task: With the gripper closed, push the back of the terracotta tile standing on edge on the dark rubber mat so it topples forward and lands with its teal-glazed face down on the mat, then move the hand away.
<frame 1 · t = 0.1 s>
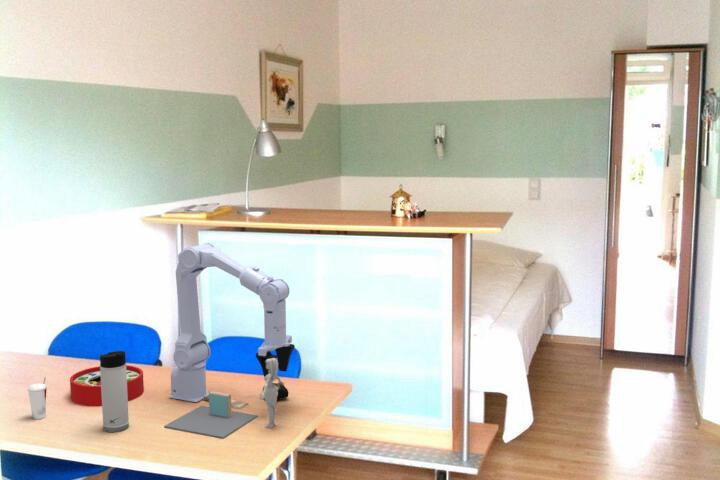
hand: (275, 374, 203), 10 cm above the table, fingers open, 7 cm apart
tile: (220, 415, 200), resting on mat
milkshake: (40, 417, 200), on the table
tape measure: (276, 398, 215), on the table
travel mug: (116, 428, 192), on the table
toy clock: (107, 395, 217), on the table
mat: (211, 421, 196), on the table
human figurine: (272, 427, 193), on the table
turner: (223, 403, 210), on the table
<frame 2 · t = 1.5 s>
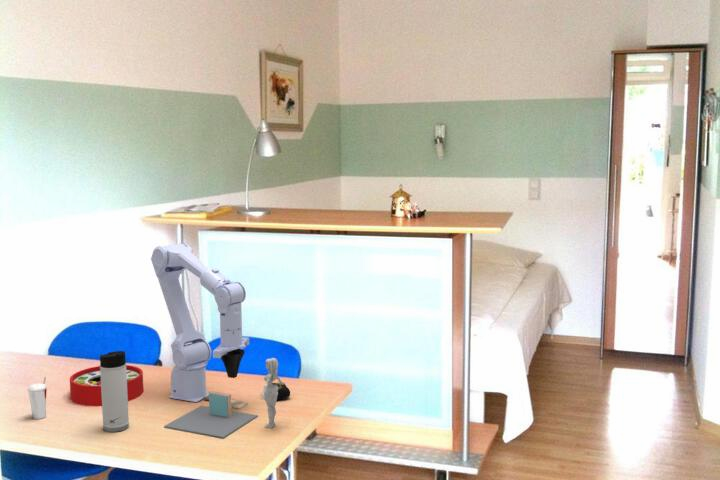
hand: (232, 377, 204), 9 cm above the table, fingers closed
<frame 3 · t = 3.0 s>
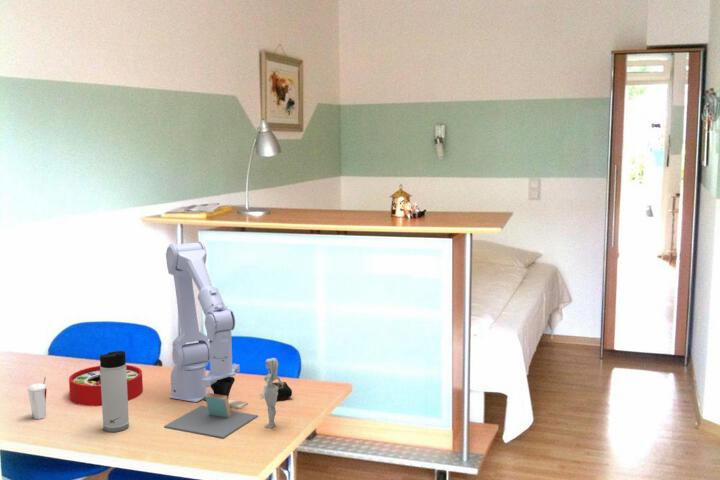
hand: (222, 405, 200), 3 cm above the table, fingers closed
tile: (220, 414, 199), point 1 cm above the table, tilted 17°, touching mat
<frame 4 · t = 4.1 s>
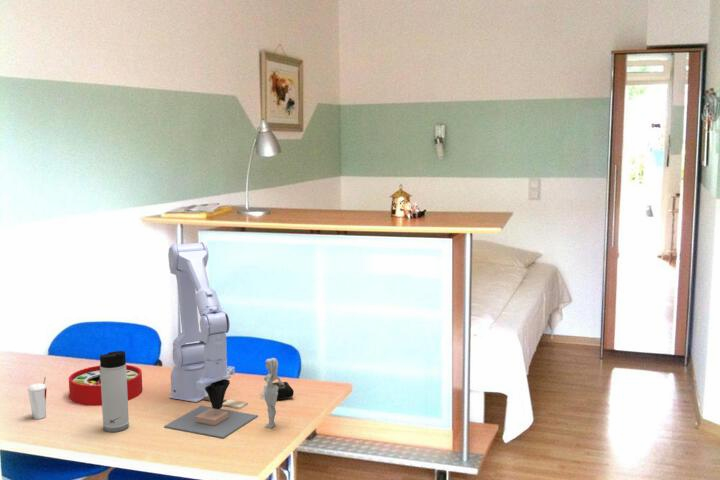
hand: (217, 408, 198), 3 cm above the table, fingers closed
tile: (218, 413, 199), point 1 cm above the table, tilted 90°, touching mat
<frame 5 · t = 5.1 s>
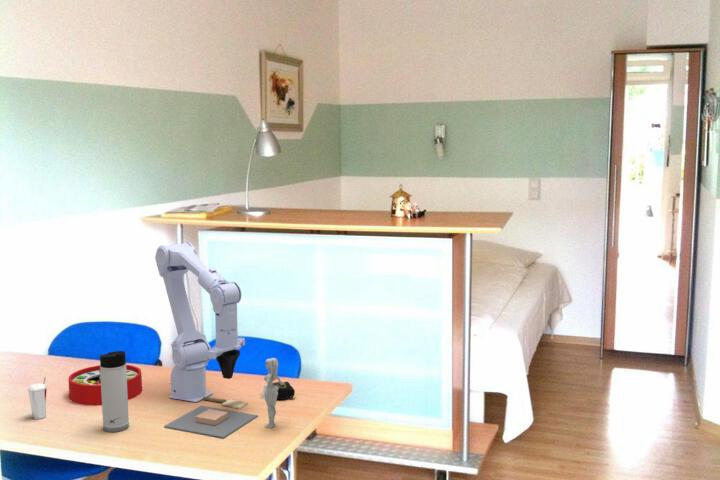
hand: (227, 377, 202), 10 cm above the table, fingers closed
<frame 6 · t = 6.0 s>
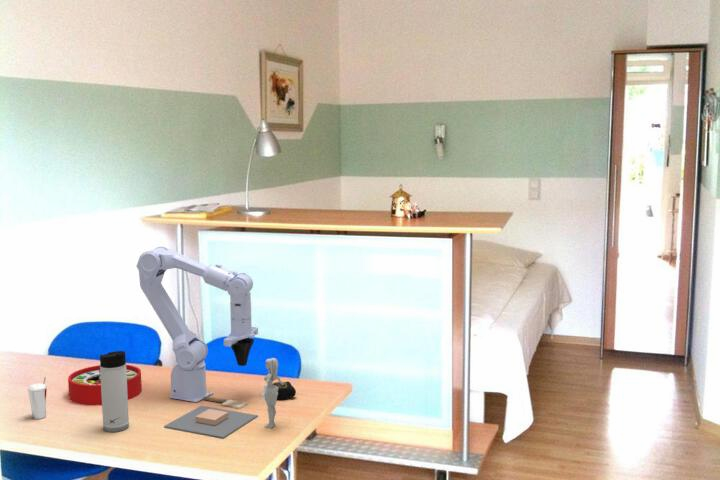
hand: (242, 365, 212), 10 cm above the table, fingers closed
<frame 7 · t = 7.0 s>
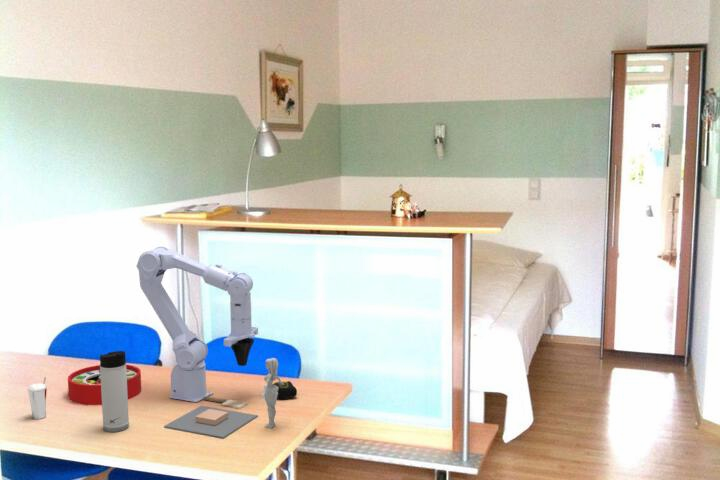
hand: (242, 365, 212), 10 cm above the table, fingers closed
at the end: tile tilted 90°; tile inside the target area (3.2 cm from its centre), point 1.3 cm above the table; the gripper is holding nothing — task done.
